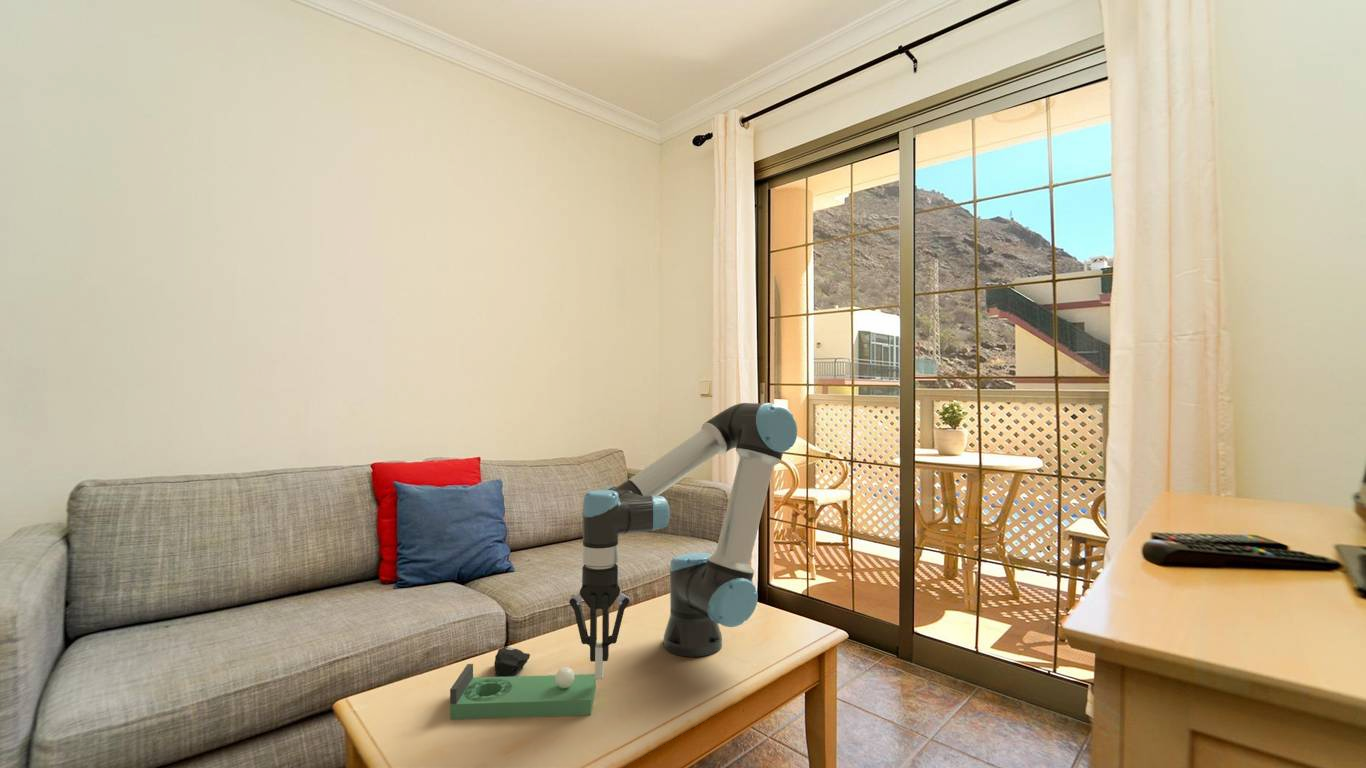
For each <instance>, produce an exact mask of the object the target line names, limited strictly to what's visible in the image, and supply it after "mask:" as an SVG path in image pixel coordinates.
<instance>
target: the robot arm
mask: <svg viewBox="0 0 1366 768" xmlns="http://www.w3.org/2000/svg"><path fill="white" fill-rule="evenodd" d="M797 437H798V425H797V421H796V419H795V418H794V415H793V413H792V412H791V410H789V409H788V408H787V407H786V406H784V405H782V404H778V403H777V404H776V403H771V402H764V403H761V402H760V403H759V402H757V403H755V402H754V403H753V402H752V403H751V402H741V403H737V404H734V405H732V406H730V407H728V408H726V409H725V410H722V411H720V412H719V413H718V414H716V415H715V416H713V417H712V418H710V419H709V420H707V421H706V422H704V423H703V424H701V429H700V431H698V432H696V433H695V434H693V435H692V436H690V437H689V438H688V439H686V440H684V441H683V442H682V443H680V444H679V445H677V446H676V447H674V448H673V449H671V450H669V451H668V452H667V453H666V454H664V455H663V456H660V458H658V459H657V460H655V461H654V462H652V463H651V464H649V465H647V466H646V467H645V468H644V469H642V470H640V471H639V472H638V473H636V474H635V475H633V476H632V477H631V478H629V479H627V480H625V481H624V482H623V483H621V484H619V485H617V486H608V487H606V488H604V489H595V490H589V491H588V492H586V493H585V494H584V496H583V501H582V502H583V504H582V512H581V513H582V514H581V515H582V564H583V565H582V568H581V569H582V571H581V572H582V575H581V578H582V579H581V580H582V581H581V588H580V589H579V593H577V594H576V595H574V594H573V595H572V596H571V597H570V599H569V601H568V603H569V605H570V607H571V608H572V609H573V611H574V616H575V620H576V623H577V629H578V634H579V638H580V642H581V644H583V645H588V646H589V660H590V662H593V663H594V674H595V679H596V680H603V676H604V662H608V660H609V653H610V651H609V649H610V648H609V647H610V645H613V644H616V643H617V642H618V636H619V633H620V629H621V624H622V620H623V617H624V612H625V609H626V608H627V607H628V605H629V604H630V600H631V597H630V594H624V593H623V592H622V591H621V588H620V587H619V579H618V577H619V565H618V564H617V563H618V561H619V535H624V534H632V533H641V532H643V533H644V532H650V531H651V532H653V531H657V530H661V529H664V528H666V527H667V525H668V524H669V521H670V517H671V510H670V506H669V505H670V504H669V503H668V500H667V499H666V498H665V497H664V496H663V495H661V494H662V493H664V492H665V491H667V490H668V489H670V488H671V487H672V486H674V485H676V483H678V482H680V481H681V480H683V479H684V478H685V477H686V476H688V475H689V474H691V473H692V472H694V471H695V470H696V469H698V468H700V467H701V466H702V465H704V464H705V463H707V461H710V460H711V459H712V458H713V457H715V456H716V455H724V454H725V453H727V452H728V451H730V450H732V449H735V451H736V454H737V455H738V458H739V460H738V464H737V466H736V470H735V476H734V479H733V483H732V486H731V487H732V488H731V491H730V495H729V499H728V502H727V508H726V511H725V515H724V519H723V522H722V526H721V530H720V534H719V538H718V542H717V546H716V549H715V553H713V554H712V553H707V552H692V553H685V554H680V555H676V556H674V557H673V558H672V559H671V561H670V565H669V566H670V567H669V578H670V579H669V584H670V585H669V586H670V587H669V588H670V592H669V593H670V594H669V595H670V596H669V598H670V603H669V604H670V605H669V606H670V609H669V610H670V611H669V612H670V614H669V618H668V620H667V621H668V622H667V625H666V627H665V630H664V634H663V647H664V649H665V650H666V651H668V652H669V653H671V654H674V655H677V656H681V657H688V658H689V657H693V658H697V657H704V656H705V657H706V656H709V655H712V654H715V653H716V652H718V651H720V649H721V648H722V646H723V636H722V635H723V634H722V632H721V629H720V628H721V627H720V625H721V626H723V627H726V628H736V627H738V626H741V625H743V623H744V622H745V621H748V620H749V619H750V618H751V617H752V616H753V614H754V612H755V610H756V607H757V605H758V597H759V596H758V591H757V589H756V586H755V584H753V579H754V574H755V571H754V568H753V567H752V565H751V558H752V555H753V551H754V546H755V543H756V542H755V541H756V538H757V534H758V531H759V527H760V521H761V518H762V514H763V510H764V506H765V503H766V497H767V493H768V490H769V486H770V480H771V477H772V473H773V469H774V467H775V466H776V465H778V464H780V463H781V462H782V459H783V455H784V453H785V452H787V451H789V450H790V449H791V448H792V447H793V446H794V445H795V443H796V441H797ZM582 600H583V601H584V603H585V604H586V605H587V607H588V608H589V615H590V617H589V618H590V619H589V633H588V628H587V626H586V625H587V624H586V621H585V620H586V619H585V616H584V613H583V607H582V603H583V602H582ZM616 600H617V604H618V608H617V613H616V617H615V621H614V625H613V629H612V633H611V635H610V607H612V605H614V603H615V601H616ZM598 610H601V611H602V613H601V614H602V620H601V621H602V626H601V627H602V628H601V629H602V631H601V632H602V636H601V637H602V638H601V639H602V640H601V642H599V641H598V642H597V640H598V633H597V632H598Z"/></svg>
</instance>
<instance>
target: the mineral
mask: <svg viewBox="0 0 1366 768" xmlns="http://www.w3.org/2000/svg"><path fill="white" fill-rule="evenodd" d="M530 657H531V654H530V653H528V652H527V653H525V652H523V651H522V650H521V649H518V648H514V647H512V646H508V645H506V646H504V647H501V648H499V649H498V651H497V653H496V654H495V659H494V672H495V673H494V675H495V676H494V677H511V676H518V674H519V673H520V672H521V671H522V670H523V669H524V666H525V665H527V663H528V660H529V659H530Z"/></svg>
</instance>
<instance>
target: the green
mask: <svg viewBox="0 0 1366 768" xmlns="http://www.w3.org/2000/svg"><path fill="white" fill-rule="evenodd" d="M555 677H556V674H553V675H521V676H520V675H515V676H511V677H496V676H484V677H483V676H480V677H474V663H467V664H466V665H465V667H464V668H463V670H462V671H461V673H460V674H459V676H458V677H457V679H456V680H455V682H454V683H453V684H452V686H451V688H450V689H449V690H450V692H449V695H450V697H449V699H450V700H449V704H450V705H449V712H450V713H449V720H471V719H472V720H473V719H499V718H500V719H501V718H502V719H503V718H504V719H505V718H530V717H531V718H536V717H537V718H538V717H539V718H540V717H563V716H565V717H566V716H567V717H568V716H571V717H572V716H591V713H592V710H593V705H594V701H595V700H594V699H595V694H596V688H597V679H595V673H589V674H588V673H587V674H586V673H585V674H583V673H582V674H574V682H573V683H572V685H571V686H570V687H568V688H560V687H559V686H558V685H557V684H556V681H555Z"/></svg>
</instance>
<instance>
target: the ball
mask: <svg viewBox="0 0 1366 768" xmlns="http://www.w3.org/2000/svg"><path fill="white" fill-rule="evenodd" d="M555 675H556V677H555V681H556V684H557V685H558V686H559V687H560V688H568V687H570V686H571V685H572V683H573V682H574V675H575V673H574V671H573V669H572V668H570V667H567V666H566V667H561V668H560V669H558V670H557V672H556V673H555Z"/></svg>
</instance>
